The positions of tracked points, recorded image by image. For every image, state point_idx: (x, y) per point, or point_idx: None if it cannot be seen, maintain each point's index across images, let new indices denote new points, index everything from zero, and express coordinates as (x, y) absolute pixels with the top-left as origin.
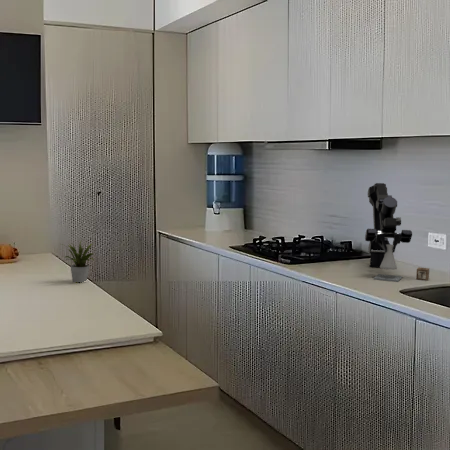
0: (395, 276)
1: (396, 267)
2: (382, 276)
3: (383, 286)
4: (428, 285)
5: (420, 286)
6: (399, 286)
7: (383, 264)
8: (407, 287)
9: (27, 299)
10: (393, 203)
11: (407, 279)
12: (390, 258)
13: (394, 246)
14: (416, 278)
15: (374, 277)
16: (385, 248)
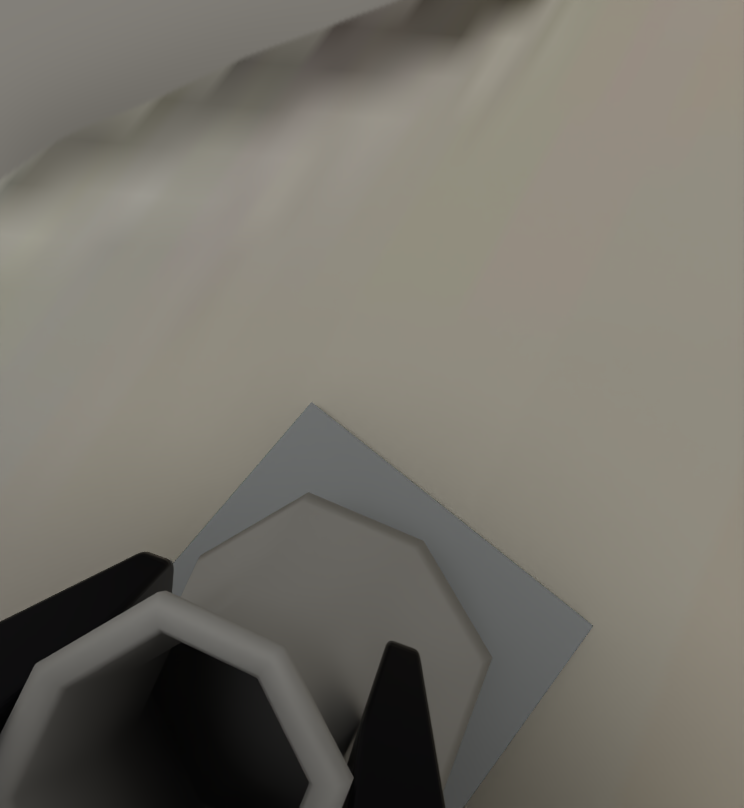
0: None
1: (207, 553)
2: None
3: (637, 183)
4: (56, 180)
5: (186, 142)
6: (437, 165)
7: (449, 628)
8: (370, 111)
9: None
10: None
11: (81, 551)
12: (307, 567)
13: (29, 649)
14: None
15: (564, 653)
16: (407, 712)
